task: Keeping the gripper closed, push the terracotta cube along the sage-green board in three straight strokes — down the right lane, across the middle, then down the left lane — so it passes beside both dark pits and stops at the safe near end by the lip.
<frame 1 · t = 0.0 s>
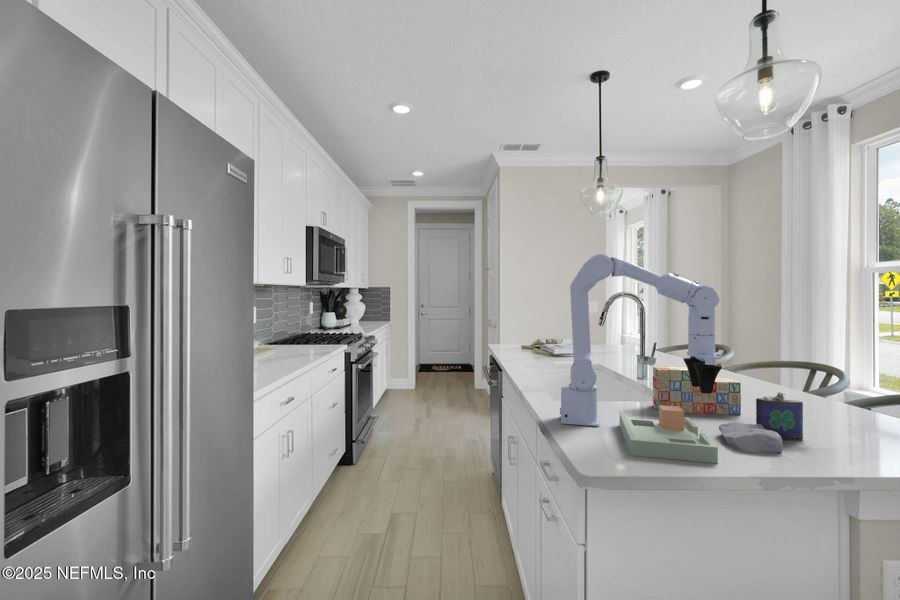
hand: (701, 389, 104), 10 cm above the countertop, tool pointing down, fingers open, 7 cm apart
stack of blocks: (694, 411, 123), on the countertop
stone block: (746, 445, 95), on the countertop
board: (661, 441, 97), on the countertop
block: (671, 427, 100), point 2 cm above the countertop, touching board
flask: (779, 438, 99), on the countertop
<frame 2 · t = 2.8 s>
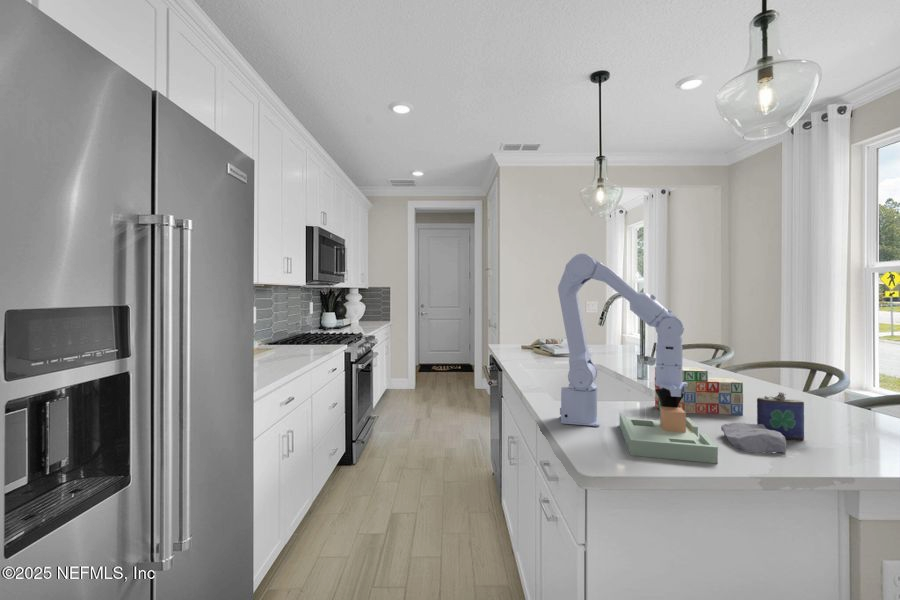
hand: (668, 419, 103), 3 cm above the countertop, tool pointing down, fingers closed
block: (672, 428, 99), point 2 cm above the countertop, touching gripper
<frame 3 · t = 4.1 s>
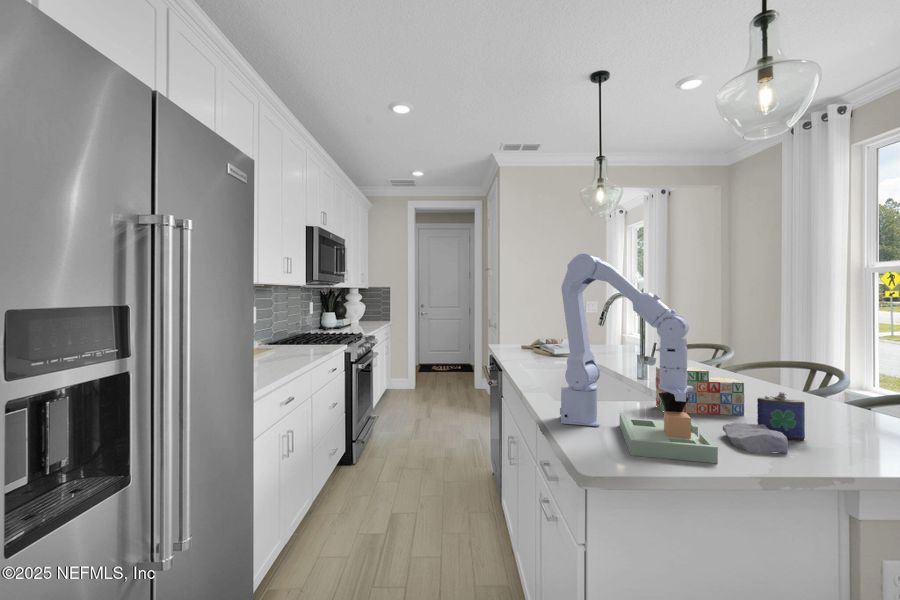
hand: (673, 424, 99), 3 cm above the countertop, tool pointing down, fingers closed
stone block: (750, 445, 95), on the countertop, touching flask
block: (677, 434, 95), point 2 cm above the countertop, touching board, gripper
flask: (780, 438, 99), on the countertop, touching stone block
everything else where it was.
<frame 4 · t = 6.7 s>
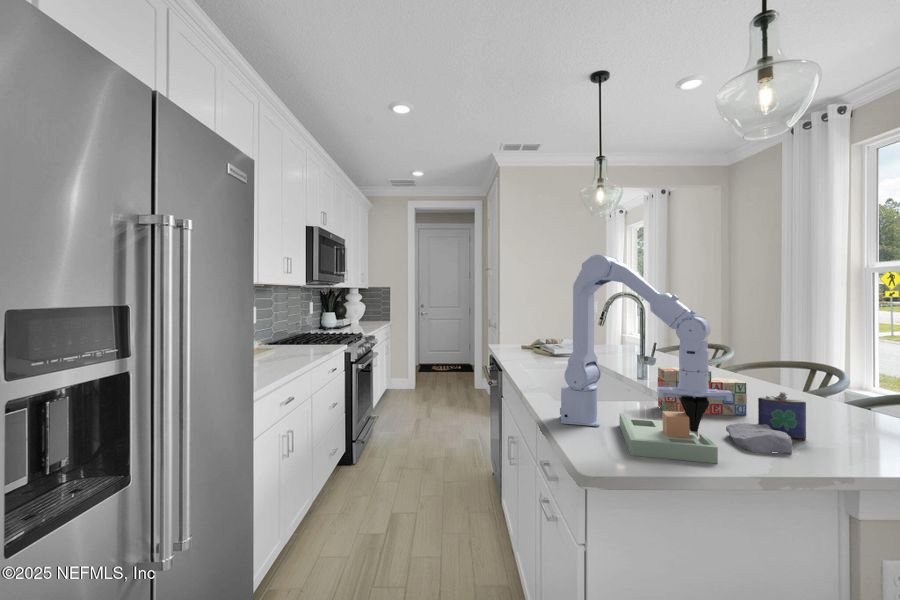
hand: (693, 430, 95), 3 cm above the countertop, tool pointing down, fingers closed
stone block: (754, 445, 95), on the countertop
block: (675, 434, 95), point 2 cm above the countertop, touching gripper
flask: (781, 438, 99), on the countertop
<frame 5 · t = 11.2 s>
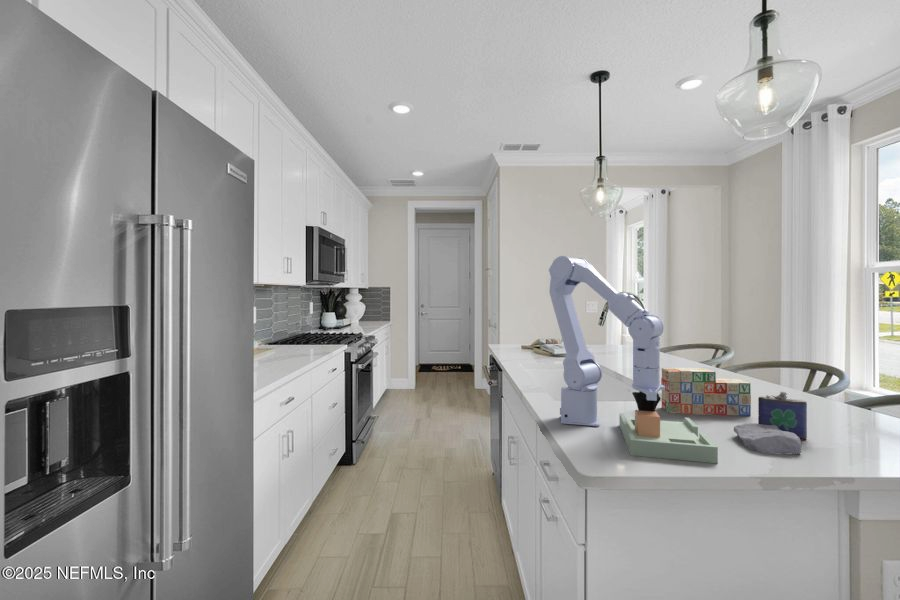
hand: (646, 423, 100), 3 cm above the countertop, tool pointing down, fingers closed
stone block: (762, 446, 94), on the countertop
block: (647, 433, 96), point 2 cm above the countertop, touching gripper
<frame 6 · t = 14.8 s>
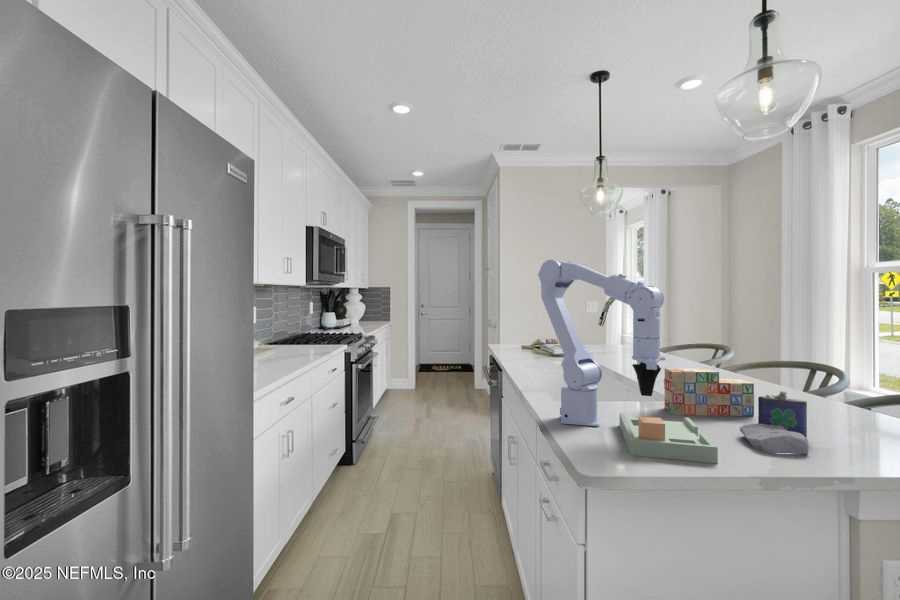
hand: (646, 395, 99), 10 cm above the countertop, tool pointing down, fingers closed
stone block: (769, 446, 94), on the countertop
block: (651, 440, 91), point 2 cm above the countertop, touching board
at the end: block 0.5 cm from the target spot, point 2.0 cm above the countertop; block tilted 0° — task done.
